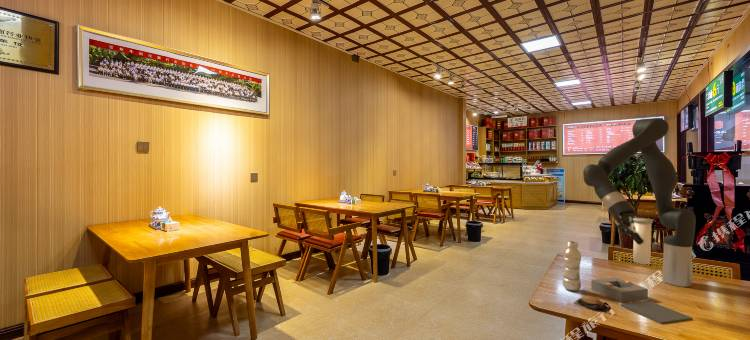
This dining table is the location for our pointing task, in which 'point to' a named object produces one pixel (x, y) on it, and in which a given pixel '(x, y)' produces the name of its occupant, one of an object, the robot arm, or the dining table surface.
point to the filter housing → (619, 289)
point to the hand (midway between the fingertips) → (647, 242)
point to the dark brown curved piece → (592, 304)
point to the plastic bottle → (572, 267)
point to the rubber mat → (656, 312)
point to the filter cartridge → (643, 250)
